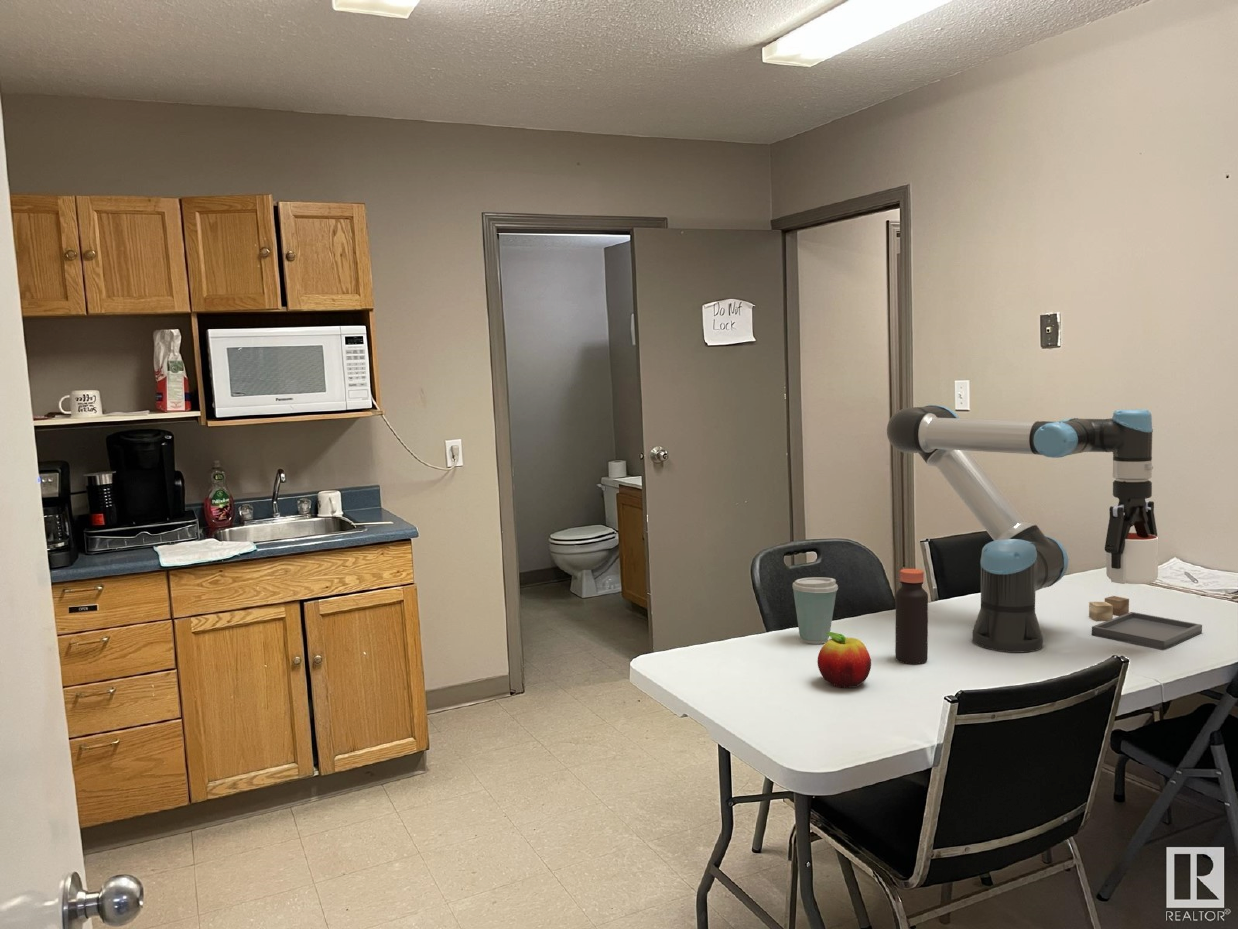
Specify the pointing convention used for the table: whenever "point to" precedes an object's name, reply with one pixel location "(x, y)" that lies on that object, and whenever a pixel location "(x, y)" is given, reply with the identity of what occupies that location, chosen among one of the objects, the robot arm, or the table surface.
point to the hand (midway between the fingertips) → (1131, 579)
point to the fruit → (844, 661)
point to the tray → (1147, 630)
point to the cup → (1138, 559)
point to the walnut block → (1118, 605)
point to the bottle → (911, 618)
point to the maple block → (1100, 611)
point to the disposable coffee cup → (814, 607)
